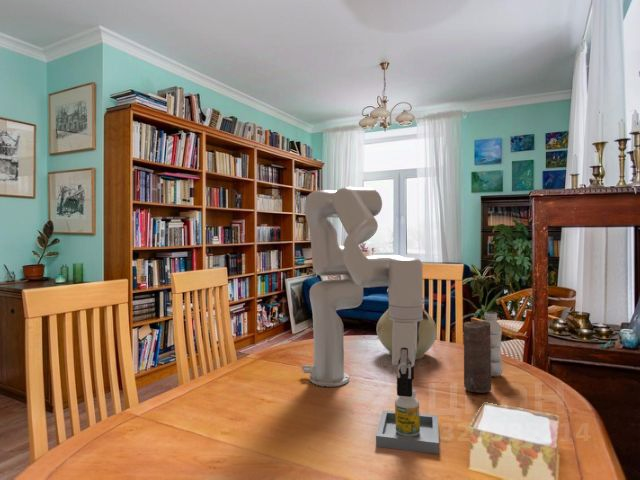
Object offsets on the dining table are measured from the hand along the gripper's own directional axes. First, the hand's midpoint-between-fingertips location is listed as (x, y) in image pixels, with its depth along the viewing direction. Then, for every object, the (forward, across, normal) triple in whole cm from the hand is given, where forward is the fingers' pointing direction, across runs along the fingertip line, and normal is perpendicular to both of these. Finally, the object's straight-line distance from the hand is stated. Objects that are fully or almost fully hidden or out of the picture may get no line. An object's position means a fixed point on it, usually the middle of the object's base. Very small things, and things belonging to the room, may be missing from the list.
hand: (405, 387), depth 89 cm
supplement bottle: (+10, 0, 0) cm, 10 cm away
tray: (+11, +1, +1) cm, 11 cm away
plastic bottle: (+11, -44, +25) cm, 52 cm away
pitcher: (+12, -60, -2) cm, 62 cm away
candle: (+11, -29, +19) cm, 36 cm away
